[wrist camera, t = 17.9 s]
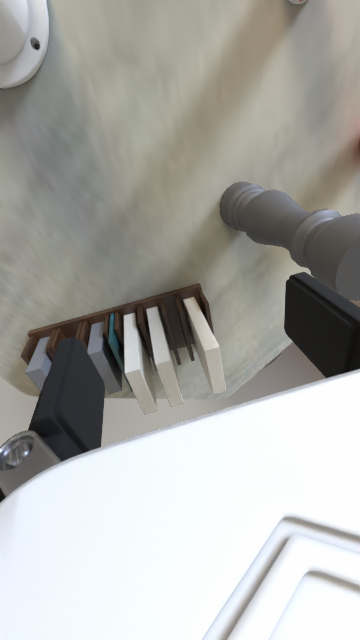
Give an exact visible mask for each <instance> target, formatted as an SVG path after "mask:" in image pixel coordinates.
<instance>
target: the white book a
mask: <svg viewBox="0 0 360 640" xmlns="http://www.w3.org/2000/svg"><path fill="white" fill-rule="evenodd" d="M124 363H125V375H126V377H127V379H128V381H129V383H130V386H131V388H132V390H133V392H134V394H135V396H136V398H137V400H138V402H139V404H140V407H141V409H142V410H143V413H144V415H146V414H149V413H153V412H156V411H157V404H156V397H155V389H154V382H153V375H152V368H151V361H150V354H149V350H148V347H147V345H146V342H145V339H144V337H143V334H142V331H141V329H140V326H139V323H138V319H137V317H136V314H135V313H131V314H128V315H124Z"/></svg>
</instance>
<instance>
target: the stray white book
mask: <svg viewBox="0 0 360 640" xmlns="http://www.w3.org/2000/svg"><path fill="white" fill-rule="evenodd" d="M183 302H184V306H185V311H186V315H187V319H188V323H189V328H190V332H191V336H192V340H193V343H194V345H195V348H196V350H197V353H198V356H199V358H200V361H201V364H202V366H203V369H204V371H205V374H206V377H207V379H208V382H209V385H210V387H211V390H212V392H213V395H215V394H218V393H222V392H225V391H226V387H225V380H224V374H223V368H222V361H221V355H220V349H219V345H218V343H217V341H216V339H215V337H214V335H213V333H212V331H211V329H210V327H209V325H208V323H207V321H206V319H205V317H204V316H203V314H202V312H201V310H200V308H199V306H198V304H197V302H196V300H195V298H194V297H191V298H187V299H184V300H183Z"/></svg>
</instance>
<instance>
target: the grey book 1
mask: <svg viewBox="0 0 360 640" xmlns="http://www.w3.org/2000/svg"><path fill="white" fill-rule="evenodd" d="M49 338H50V336H49V337H46V338H42V339H40V340H39V342H38V345H37V347H36V349H35V351H34V354H33V356H32V358H31V361H30V363H29V365H28V367H27V370H26V372H25V373H26V374H27V375H28V376H29V378H30V379H31V380H32V381H33V383H34V384H35V385H36V386H37V388H38V389H39V390H40V391H41V390H42V387H43V384H44V381H45V379H46V377H47V376H48V373H49V370H50V367H51V364H52V361H53V359H52V358H51V356H50V355H49V353H48V352H47V350H46V346H47V344H48V341H49Z"/></svg>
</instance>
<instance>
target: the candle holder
mask: <svg viewBox="0 0 360 640" xmlns="http://www.w3.org/2000/svg"><path fill="white" fill-rule="evenodd" d="M220 214H221V216H222V218H223V220H224V221H225V222H226V223H227V224H228V225H230V226H231V227H233V228H234V229H236V230H239V231H243V232H246V234H247V236H248V237H249V238H251V239H252V240H253V241H254V242H256V243H260V244H265V245H273V246H281V247H284V248H286V249H287V250H289V252H290V255H291V258H292V260H294V261H295V262H296V263H297V264H298V265H299V266H302V267H306V268H309V270H310V271H311V275H312V276H313V277H314V278H315V279H317V280H318V281H320V282H321V283H323V284H324V285H326V286H327V287H329V288H330V289H332V290H333V291H335V292H336V293H338V294H340V295H341V296H343V297H344V298H346V299H350V300H355V301H357V300H360V214H358V213H356V214H351V215H346V216H341V215H340V213H339V212H336V211H333V210H330V209H323V210H317V211H314V212H312V213H310V212H307V211H304V210H303V209H302V208H301V207H300V206H299V205H298V204H297V203H295V202H294V201H293V200H292V199H291V198H290V197H289V196H288V195H287V194H286V193H284V192H281V191H278V190H268V191H265V190H264V189H262V188H261V187H260V186H257V185H254V184H250V183H246V182H239V183H235V184H233V185H232V186H230V187H229V188H227V190H226V191H225V192H224V194H223V195H222V198H221V201H220Z"/></svg>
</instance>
